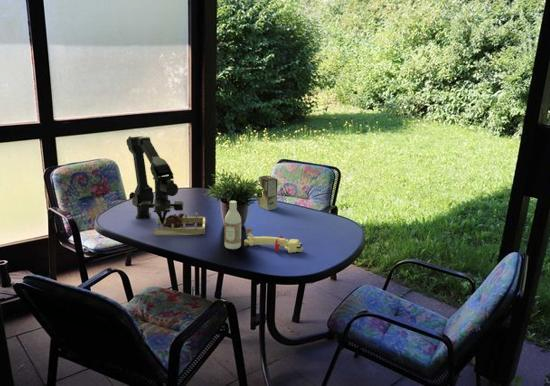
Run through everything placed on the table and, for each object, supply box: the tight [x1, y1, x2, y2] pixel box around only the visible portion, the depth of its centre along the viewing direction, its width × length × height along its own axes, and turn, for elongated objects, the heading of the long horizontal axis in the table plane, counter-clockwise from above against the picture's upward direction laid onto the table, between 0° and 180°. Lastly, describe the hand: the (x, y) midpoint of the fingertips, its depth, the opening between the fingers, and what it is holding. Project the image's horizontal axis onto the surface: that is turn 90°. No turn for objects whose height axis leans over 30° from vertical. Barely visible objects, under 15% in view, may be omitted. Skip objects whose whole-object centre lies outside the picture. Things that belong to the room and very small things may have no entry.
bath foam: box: [224, 200, 242, 250], centre depth 204 cm, size 7×7×20 cm
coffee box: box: [257, 175, 278, 211], centre depth 255 cm, size 9×6×16 cm
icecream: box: [163, 212, 185, 228], centre depth 223 cm, size 7×7×15 cm
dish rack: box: [153, 212, 206, 236], centre depth 224 cm, size 15×22×5 cm
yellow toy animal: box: [243, 227, 304, 253], centre depth 206 cm, size 10×9×25 cm
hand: (162, 223), depth 222 cm, fingers closed
